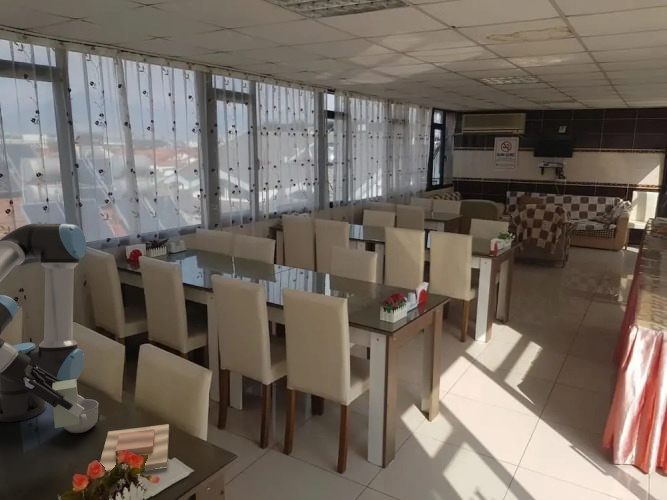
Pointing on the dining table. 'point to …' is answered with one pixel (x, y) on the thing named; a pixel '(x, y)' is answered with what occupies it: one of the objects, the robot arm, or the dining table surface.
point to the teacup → (85, 417)
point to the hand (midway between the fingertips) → (80, 407)
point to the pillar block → (60, 414)
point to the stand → (138, 445)
